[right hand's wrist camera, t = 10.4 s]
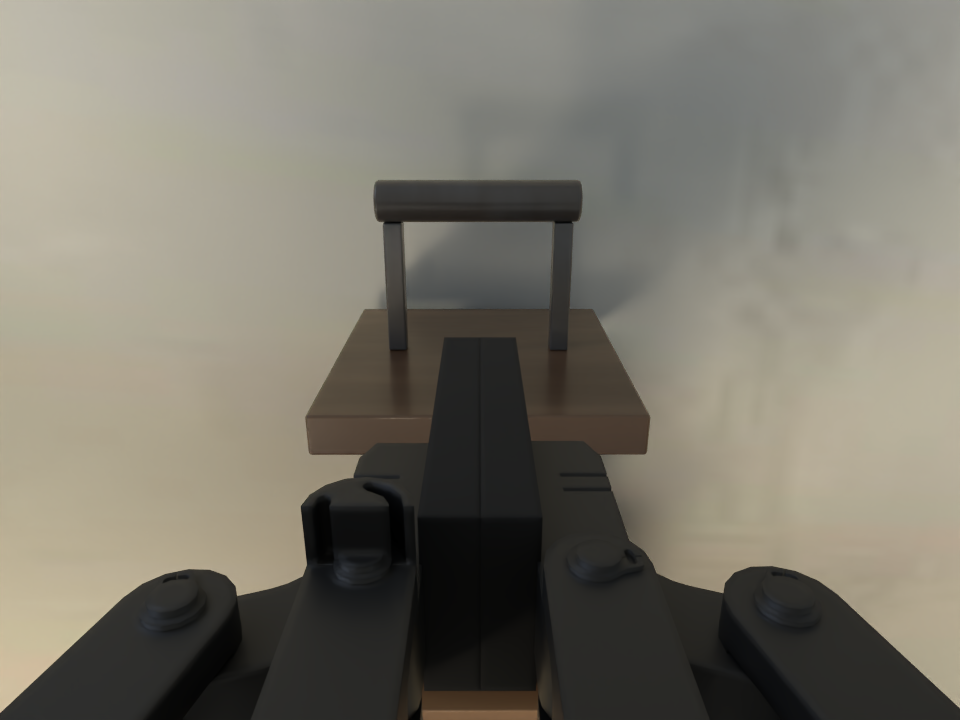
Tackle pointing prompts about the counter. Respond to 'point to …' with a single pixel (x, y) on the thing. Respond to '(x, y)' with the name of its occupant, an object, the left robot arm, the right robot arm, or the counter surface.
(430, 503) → the right robot arm
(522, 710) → the cabinet
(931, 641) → the counter surface
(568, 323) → the drawer
